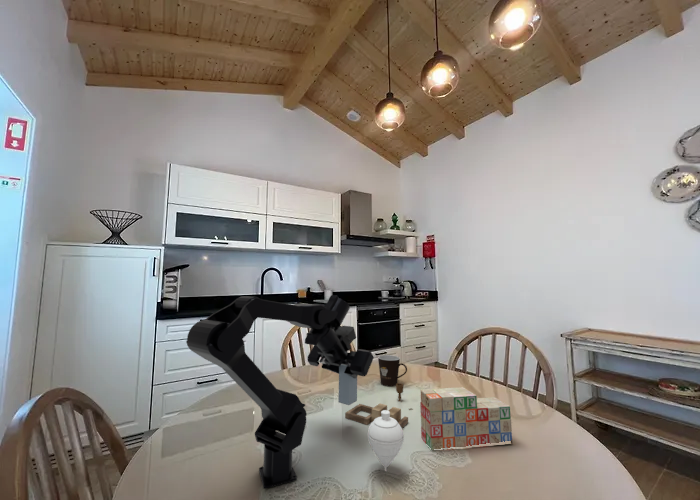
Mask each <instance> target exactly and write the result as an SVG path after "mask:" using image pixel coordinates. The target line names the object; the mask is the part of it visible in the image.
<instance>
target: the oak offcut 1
mask: <svg viewBox="0 0 700 500" xmlns="http://www.w3.org/2000/svg"><path fill="white" fill-rule="evenodd" d="M383 410H387V411H388V405H387V404H384V403H381V402H380V403H378V404H377V405H376V406H374V407H373V408H372V420H371V423H372V422H373V421H374V419H375V418H378V417H381V411H383ZM371 423H370V424H371Z"/></svg>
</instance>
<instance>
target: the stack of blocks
mask: <svg viewBox="0 0 700 500" xmlns="http://www.w3.org/2000/svg"><path fill="white" fill-rule="evenodd" d="M419 407H420V425H421V427H420V429H421V430H420V431H421V436H420V437H421V438H420V439H422V441H423V442H424V443H425V445H426V444H427V445H428V446H429V447H430V448H431V450H434V449H441V448H450V447H466V446H469V445H470V446H472V445H479V444H486V443H490V444H491V443H499V442H503V441H504V442H505V441H511V440H512V441H513V436H512V435H513V433H512V432H513V431H512V430H513V429H512V419H511V416H512V415H511V406H510V405H508V404H507V403H506V402H504V401H501V400H500V399H499V398H497V397H495V396H494V397H477V395H476V393H473V392H472V391H470V390H468V389H466V388H465V387H445V388H425V389H424V388H423V389H420V406H419ZM427 445H426V446H427ZM428 446H427V447H428ZM429 447H428V448H429ZM431 450H430V451H431Z"/></svg>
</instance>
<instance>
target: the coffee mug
mask: <svg viewBox="0 0 700 500" xmlns="http://www.w3.org/2000/svg"><path fill="white" fill-rule="evenodd" d="M377 359H378V370H379V379H380V384H381V385H382V386H384V387H389V388H390V387H396V384H397V383H398V382H399V380H398V379H400V378H401V377H404V375H406V374H407V372H408V367H407V365H406V364H405V363H402V362H401V363H400V360H401V357H400V356H397V355H393V354H392V355H390V354H389V355H388V354H382V355H379V356H378V357H377ZM400 366H403V367H404V368H405V370H404V372H403V374H400V375H399V372H400V371H399V370H400Z"/></svg>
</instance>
